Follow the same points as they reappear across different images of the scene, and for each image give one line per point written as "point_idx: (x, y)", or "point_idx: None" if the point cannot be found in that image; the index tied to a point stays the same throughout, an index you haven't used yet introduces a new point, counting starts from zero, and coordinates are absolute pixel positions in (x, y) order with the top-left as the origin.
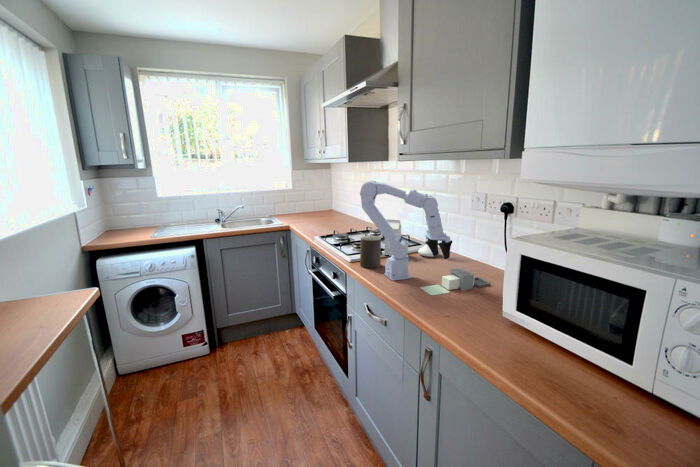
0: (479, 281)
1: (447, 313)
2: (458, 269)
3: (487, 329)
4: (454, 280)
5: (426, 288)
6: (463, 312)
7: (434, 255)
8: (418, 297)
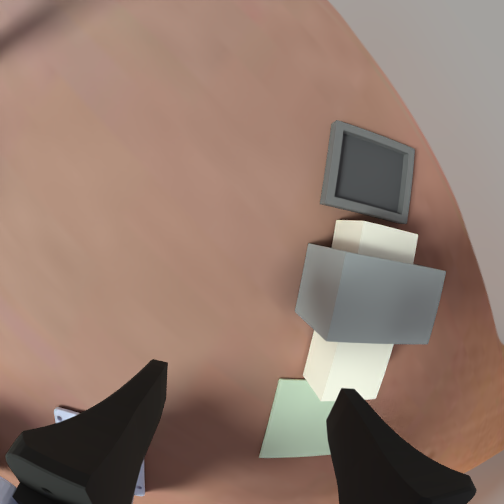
0: (365, 154)
1: (426, 452)
2: (356, 289)
3: (495, 404)
4: (382, 367)
5: (283, 443)
6: (450, 415)
7: (163, 403)
8: (319, 486)
